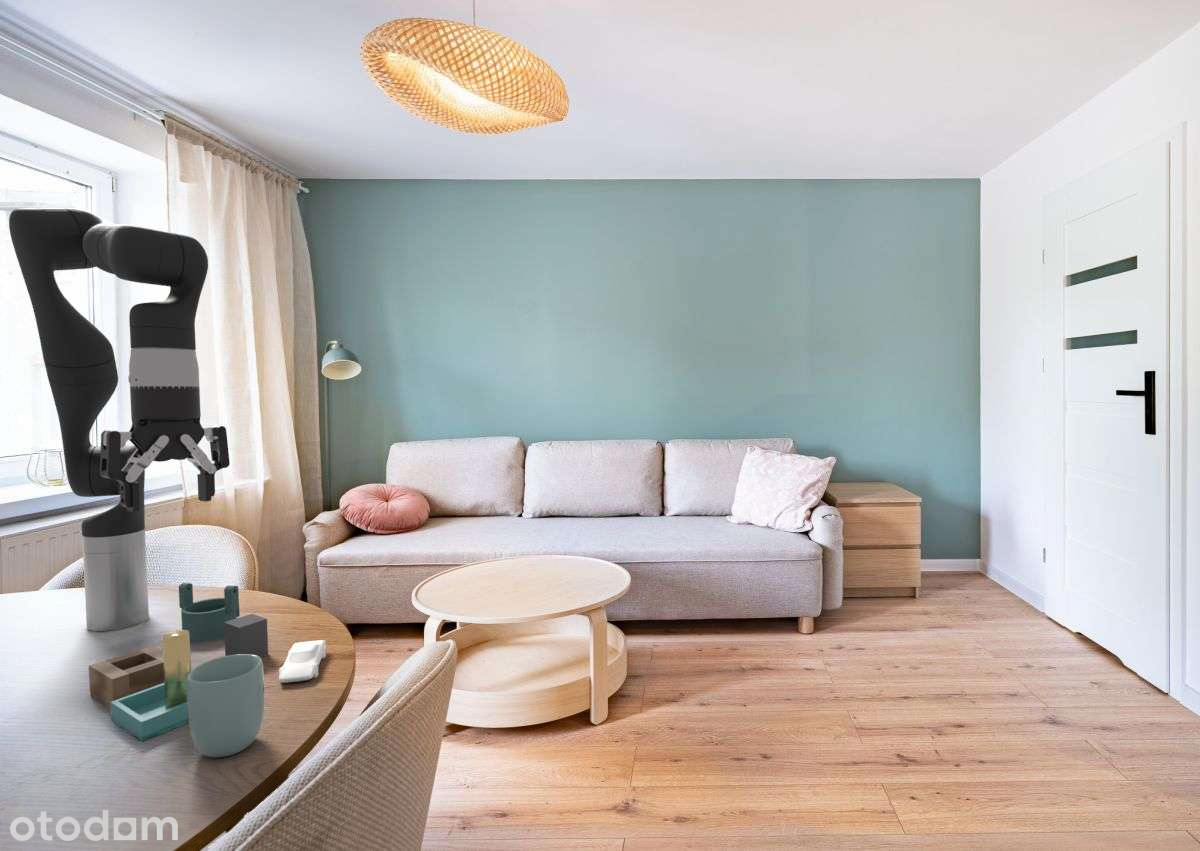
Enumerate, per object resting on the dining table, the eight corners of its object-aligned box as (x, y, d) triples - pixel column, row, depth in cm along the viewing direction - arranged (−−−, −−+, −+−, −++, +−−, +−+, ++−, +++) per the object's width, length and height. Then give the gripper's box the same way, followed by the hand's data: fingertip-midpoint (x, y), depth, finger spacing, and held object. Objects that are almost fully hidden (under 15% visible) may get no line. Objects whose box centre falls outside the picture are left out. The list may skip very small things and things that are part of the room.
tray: (111, 720, 81) (110, 701, 81) (210, 683, 91) (209, 666, 91) (142, 741, 76) (141, 722, 76) (243, 699, 86) (242, 682, 86)
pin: (161, 707, 83) (158, 635, 82) (185, 698, 86) (182, 628, 85) (171, 714, 81) (168, 640, 81) (196, 704, 84) (193, 632, 83)
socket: (90, 695, 87) (88, 665, 87) (154, 673, 94) (153, 645, 94) (113, 711, 83) (112, 679, 83) (179, 687, 90) (178, 657, 90)
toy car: (274, 690, 90) (274, 668, 89) (292, 656, 101) (291, 636, 101) (315, 685, 91) (314, 663, 91) (328, 652, 103) (327, 632, 102)
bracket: (239, 636, 109) (238, 586, 108) (177, 647, 104) (175, 595, 104) (239, 620, 116) (238, 574, 116) (181, 629, 112) (179, 581, 111)
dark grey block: (240, 664, 97) (238, 627, 97) (225, 658, 100) (224, 622, 99) (268, 654, 101) (267, 618, 101) (253, 648, 103) (252, 613, 103)
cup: (213, 731, 78) (209, 654, 78) (276, 728, 79) (273, 652, 78) (176, 768, 70) (172, 684, 70) (246, 765, 71) (243, 681, 70)
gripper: (112, 383, 73) (118, 518, 74) (236, 384, 85) (240, 500, 86) (87, 384, 77) (93, 511, 78) (209, 384, 89) (213, 495, 90)
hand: (170, 505), depth 82 cm, fingers open, 8 cm apart
